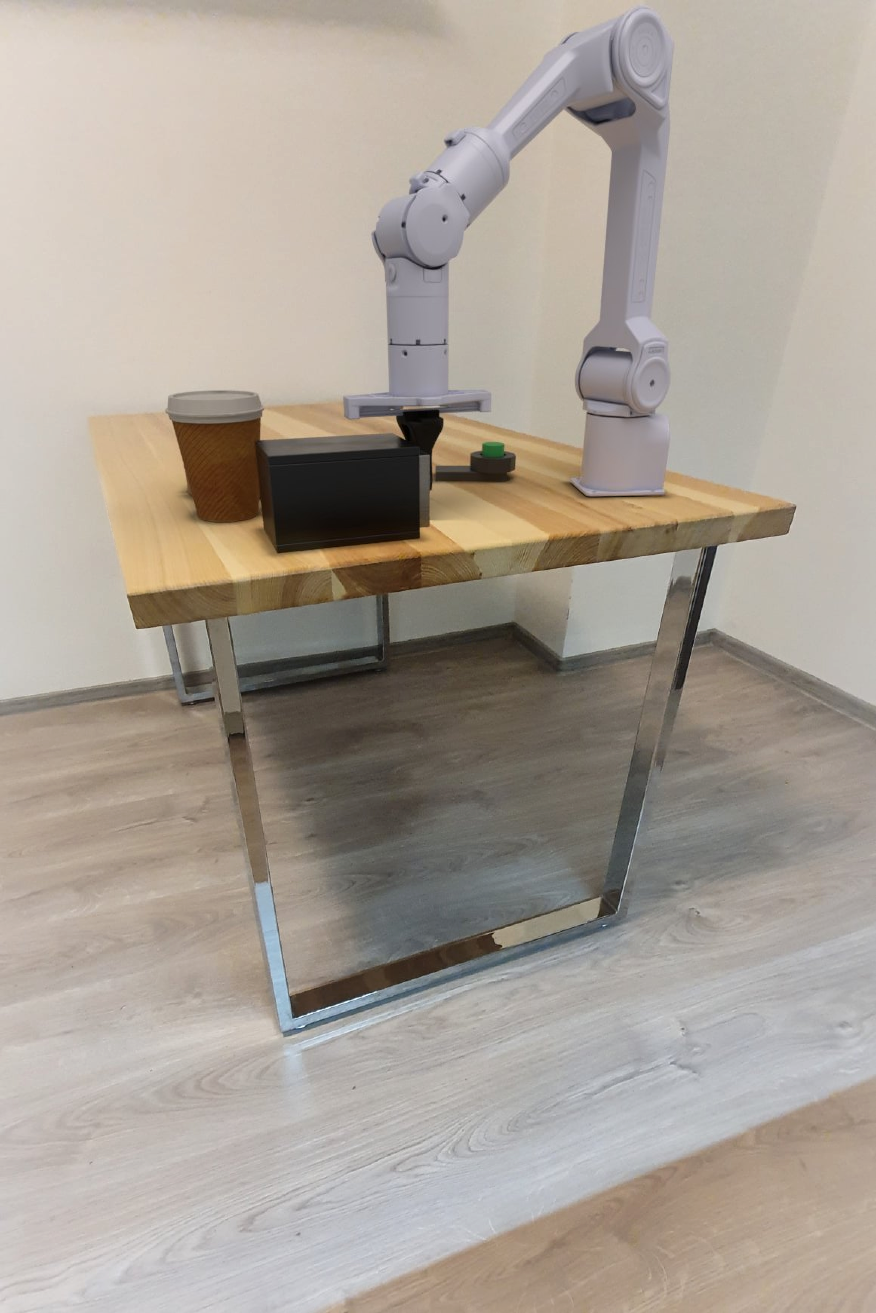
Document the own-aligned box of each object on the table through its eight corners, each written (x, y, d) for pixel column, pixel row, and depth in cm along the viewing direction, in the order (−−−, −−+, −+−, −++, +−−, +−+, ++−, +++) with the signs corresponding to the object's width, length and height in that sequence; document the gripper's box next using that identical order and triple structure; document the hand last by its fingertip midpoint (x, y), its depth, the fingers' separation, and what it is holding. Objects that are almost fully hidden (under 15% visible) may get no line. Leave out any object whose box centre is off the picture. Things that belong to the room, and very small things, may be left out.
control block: (511, 473, 96) (513, 450, 95) (516, 483, 91) (517, 458, 90) (435, 473, 96) (435, 450, 95) (435, 483, 91) (435, 458, 90)
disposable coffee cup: (191, 531, 71) (172, 402, 66) (174, 509, 79) (156, 392, 74) (285, 519, 75) (274, 397, 70) (261, 499, 83) (249, 388, 78)
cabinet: (394, 517, 76) (392, 432, 72) (420, 539, 69) (419, 446, 66) (263, 529, 72) (254, 440, 68) (277, 553, 65) (267, 456, 61)
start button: (502, 455, 94) (503, 441, 93) (504, 460, 91) (505, 445, 90) (481, 455, 94) (481, 441, 93) (482, 460, 91) (482, 445, 90)
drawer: (418, 508, 76) (417, 441, 73) (441, 525, 70) (442, 454, 67) (287, 520, 72) (280, 449, 69) (300, 539, 66) (294, 463, 63)
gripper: (353, 348, 62) (361, 504, 68) (506, 344, 67) (501, 491, 73) (334, 344, 68) (343, 488, 74) (476, 341, 73) (473, 477, 79)
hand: (419, 489), depth 74 cm, fingers closed, pressing on drawer
